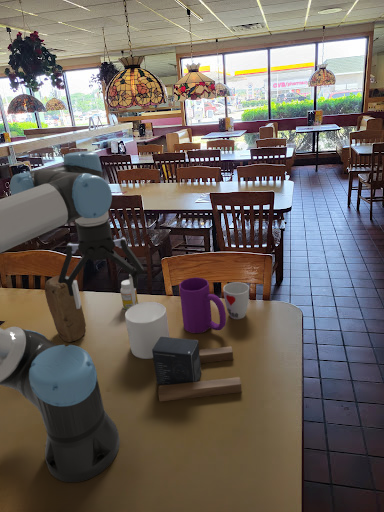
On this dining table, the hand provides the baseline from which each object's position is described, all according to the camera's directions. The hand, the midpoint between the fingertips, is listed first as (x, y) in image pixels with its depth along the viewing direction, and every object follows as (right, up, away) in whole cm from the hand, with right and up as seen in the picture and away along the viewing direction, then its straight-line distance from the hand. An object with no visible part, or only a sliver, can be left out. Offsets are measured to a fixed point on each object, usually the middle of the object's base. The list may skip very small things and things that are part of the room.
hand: (106, 302), depth 95 cm
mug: (+26, -11, +24) cm, 37 cm away
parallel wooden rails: (+23, -20, +4) cm, 31 cm away
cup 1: (+9, -15, +18) cm, 25 cm away
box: (+18, -20, +4) cm, 27 cm away
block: (-17, -14, +27) cm, 35 cm away
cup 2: (+36, -8, +29) cm, 47 cm away
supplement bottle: (0, -6, +40) cm, 41 cm away
